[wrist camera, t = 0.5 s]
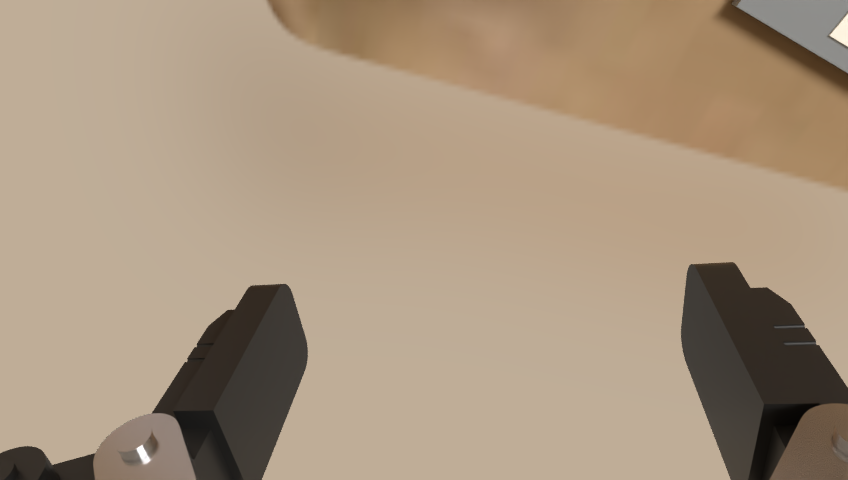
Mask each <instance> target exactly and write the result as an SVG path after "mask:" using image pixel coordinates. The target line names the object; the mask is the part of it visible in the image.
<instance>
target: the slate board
mask: <svg viewBox="0 0 848 480" xmlns="http://www.w3.org/2000/svg"><path fill="white" fill-rule="evenodd" d="M731 4H732V5H734V6H735V7H737V8H739V9H740V10H742V11H744V12H745V13H747V14H749V15H750V16H752V17H754V18H755V19H757V20H759V21H760V22H762V23H764V24H765V25H767V26H769V27H770V28H772V29H774V30H775V31H777V32H779V33H780V34H782V35H784V36H785V37H787V38H789V39H790V40H792V41H794V42H795V43H797V44H799V45H801V46H802V47H804V48H806V49H807V50H809V51H811V52H812V53H814V54H816V55H817V56H819V57H821V58H822V59H824V60H826V61H827V62H829V63H831V64H832V65H834V66H836V67H837V68H839V69H841V70H842V71H844V72H846V73H847V74H848V0H734V1H733V2H732V3H731Z"/></svg>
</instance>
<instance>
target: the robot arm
mask: <svg viewBox="0 0 848 480" xmlns="http://www.w3.org/2000/svg"><path fill="white" fill-rule="evenodd" d="M681 340H682V348H683V353H684V357H685V361H686V363H687V366H688V369H689V371H690V374H691V377H692V379H693V382H694V384H695V387H696V390H697V392H698V395H699V398H700V400H701V402H702V405H703V408H704V411H705V413H706V416H707V418H708V421H709V424H710V426H711V429H712V432H713V434H714V437H715V439H716V442H717V445H718V447H719V450H720V452H721V455H722V458H723V460H724V463H725V465H726V468H727V471H728V473H729V476H730V479H731V480H848V387H847V386H846V385H845V383H844V382H843V380H842V379H841V377H840V376H839V374H838V373H837V371H836V370H835V368H834V367H833V365H832V364H831V362H830V361H829V360H828V358H827V357H826V355H825V354H824V352H823V351H822V349H821V348H820V346H819V345H816V341H815V339H814V337H813V336H812V335H811V333H810V332H809V330H808V329H807V328H805V327H804V323H803V321H802V320H801V318H800V317H799V315H798V314H797V313H796V311H795V309H794V308H793V307H792V305H791V304H790V303H788V302H787V301H786V300H784V299H783V298H781V297H780V296H778V295H777V294H776V293H774V292H773V291H771V290H770V289H768V288H750V287H749V285H748V283H747V282H746V280H745V278H744V277H743V275H742V273H741V272H740V270H739V269H738V267H737V266H736V264H735V263H733V262H729V263H709V264H691V265H690V266H689V268H688V271H687V278H686V288H685V297H684V307H683V317H682V326H681ZM307 354H308V350H307V342H306V338H305V334H304V331H303V328H302V324H301V321H300V318H299V314H298V311H297V308H296V304H295V301H294V298H293V295H292V292H291V289H290V288H289V286H288V285H286V284H276V285H255V286H250V287H249V288H248V289H247V291H246V292H245V294H244V296H243V297H242V299H241V300H240V302H239V304H238V305H237V307H236V309H235V310H227V311H226V312H225V313H224V314H222V315H221V316H220V317H219V318H218V319H216V320H215V321H214V322H213V323H212V324H210V325H209V326H208V328H207V329H206V331H205V332H204V334H203V335H202V337H201V338H200V340H199V341H198V343H197V347H195V348H194V349H193V351H192V352H191V354H190V355H189V357H188V358H187V359H188V361H187V362H185V363H184V365H183V366H182V368H181V369H180V371H179V372H178V374H177V375H176V377H175V378H174V380H173V381H172V383H171V385H170V386H169V388H168V389H167V391H166V392H165V394H164V395H163V397H162V399H161V400H160V401H159V403H158V405H157V406H156V408H155V409H154V411H153V412H152V414H147V415H143V416H140V417H138V418H135V419H132V420H130V421H128V422H126V423H124V424H123V425H121V426H120V427H118V428H117V429H116V430H114V431H113V432H112V433H111V434H110V435H109V436H107V437H106V439H105V440H104V441H103V442H102V443H101V445H100V446H99V448H98V449H97V451H96V453H95V454H91V455H87V456H84V457H80V458H76V459H73V460H69V461H65V462H62V463H58V464H54V465H52V464H51V463H50V461H49V460H48V458H47V457H46V455H45V454H44V452H43V451H42V450H40V449H38V448H36V447H29V446H27V447H26V446H25V447H18V448H14V449H10V450H8V451H5V452H2V453H0V480H262V477H263V475H264V472H265V470H266V467H267V465H268V462H269V460H270V457H271V455H272V452H273V450H274V447H275V445H276V442H277V440H278V437H279V434H280V432H281V430H282V427H283V424H284V422H285V419H286V417H287V414H288V412H289V409H290V407H291V404H292V402H293V399H294V397H295V394H296V392H297V389H298V387H299V384H300V382H301V379H302V376H303V374H304V371H305V368H306V364H307V357H308V355H307Z"/></svg>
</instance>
